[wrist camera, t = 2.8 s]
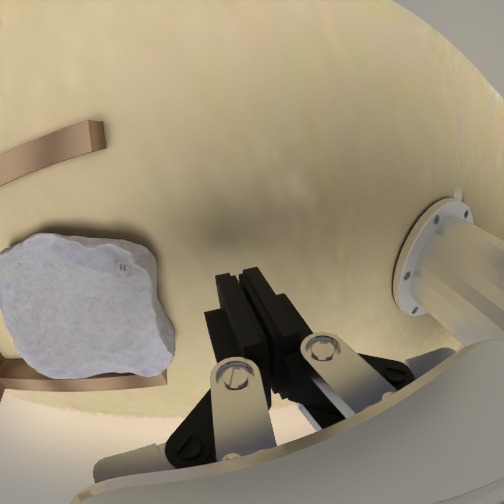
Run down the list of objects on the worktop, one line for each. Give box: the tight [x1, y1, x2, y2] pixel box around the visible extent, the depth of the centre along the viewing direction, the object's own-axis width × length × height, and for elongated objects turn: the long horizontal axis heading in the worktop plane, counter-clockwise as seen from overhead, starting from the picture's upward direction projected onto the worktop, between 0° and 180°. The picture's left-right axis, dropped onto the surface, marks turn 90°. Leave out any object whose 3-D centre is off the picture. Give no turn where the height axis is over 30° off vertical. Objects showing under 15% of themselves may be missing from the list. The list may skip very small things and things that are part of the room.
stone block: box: [0, 233, 175, 379], centre depth 14 cm, size 12×5×10 cm
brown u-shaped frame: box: [0, 120, 167, 401], centre depth 11 cm, size 19×17×5 cm
